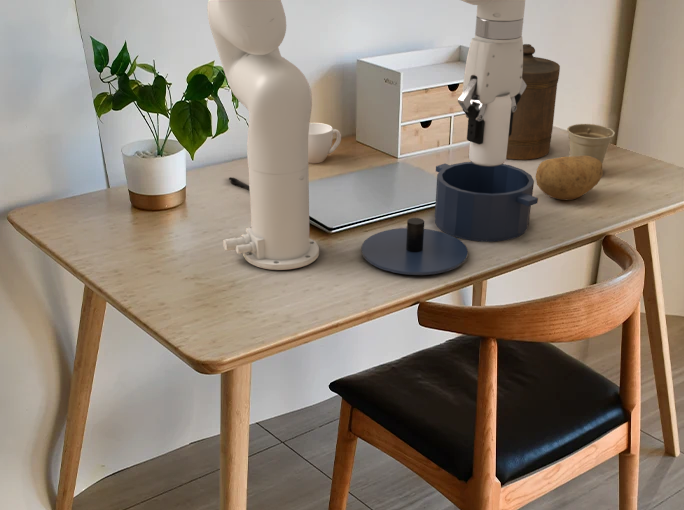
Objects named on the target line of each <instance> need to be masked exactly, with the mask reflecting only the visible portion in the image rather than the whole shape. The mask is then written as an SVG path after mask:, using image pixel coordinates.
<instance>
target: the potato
mask: <svg viewBox="0 0 684 510" xmlns="http://www.w3.org/2000/svg"><path fill="white" fill-rule="evenodd" d="M603 175H604V169H603V164H602V163H601V161H600V160H598V159H596V158H594V157H591V156H570V155H569V156H561V157H555V158H548V159H545V160H544V161H542V162H540V164H539V165H538V166H537V169H536V172H535V181H536V185H537V187H538V188H539V189H540V191H541V192H543V194H545V195H547V196H549V197H551V198H553V199H556V200H562V201H571V200H576V199H579V198H581V197H582V196H583V195H585V194H587V193H589V192H590V191H591V190H592V189H593V188H594V187H596V186H597V185H598V184H599V182H600V181H601V179H602V177H603Z"/></svg>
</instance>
